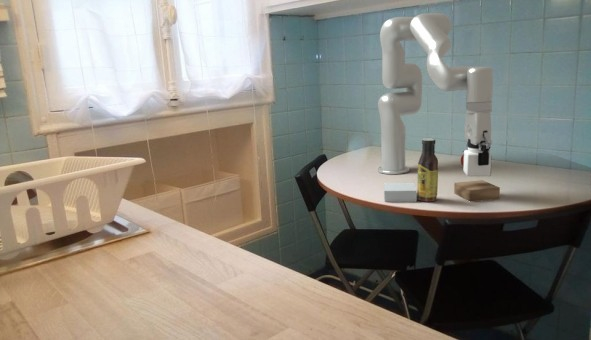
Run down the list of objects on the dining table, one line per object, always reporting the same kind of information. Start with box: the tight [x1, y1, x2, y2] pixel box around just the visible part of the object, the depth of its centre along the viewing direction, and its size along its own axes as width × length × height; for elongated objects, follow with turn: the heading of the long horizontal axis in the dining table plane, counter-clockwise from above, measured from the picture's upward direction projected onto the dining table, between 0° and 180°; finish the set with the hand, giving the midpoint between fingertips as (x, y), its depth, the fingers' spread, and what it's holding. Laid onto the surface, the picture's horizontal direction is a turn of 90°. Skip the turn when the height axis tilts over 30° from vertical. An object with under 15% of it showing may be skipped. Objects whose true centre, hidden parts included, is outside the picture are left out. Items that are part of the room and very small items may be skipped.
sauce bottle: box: [416, 137, 439, 203], centre depth 150 cm, size 7×6×20 cm
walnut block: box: [453, 179, 501, 203], centre depth 153 cm, size 10×10×4 cm
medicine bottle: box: [463, 139, 493, 177], centre depth 150 cm, size 7×7×12 cm
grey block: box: [383, 182, 417, 203], centre depth 156 cm, size 10×10×4 cm
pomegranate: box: [460, 150, 464, 167], centre depth 191 cm, size 7×7×10 cm
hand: (477, 162), depth 151 cm, fingers closed on medicine bottle, 8 cm apart
